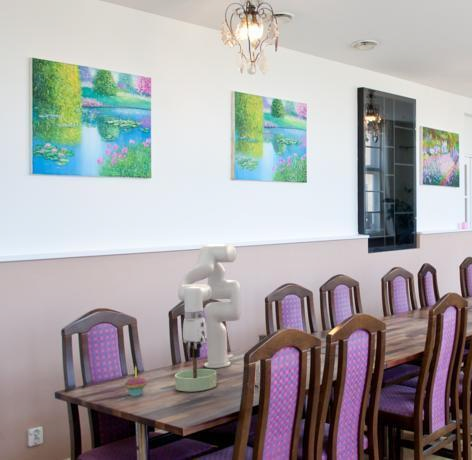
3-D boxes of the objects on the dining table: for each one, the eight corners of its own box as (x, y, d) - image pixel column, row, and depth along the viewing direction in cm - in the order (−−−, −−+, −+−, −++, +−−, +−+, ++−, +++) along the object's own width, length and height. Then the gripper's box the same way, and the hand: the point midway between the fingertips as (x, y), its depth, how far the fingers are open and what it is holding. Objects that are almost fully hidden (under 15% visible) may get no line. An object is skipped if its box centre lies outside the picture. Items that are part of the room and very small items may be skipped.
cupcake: (125, 393, 271) (124, 365, 271) (146, 390, 275) (146, 362, 274) (125, 398, 263) (124, 369, 263) (147, 395, 267) (147, 367, 266)
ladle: (195, 383, 282) (194, 343, 282) (203, 384, 280) (202, 344, 280) (186, 386, 278) (185, 345, 277) (195, 387, 276) (194, 346, 275)
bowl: (195, 380, 291) (195, 367, 291) (224, 384, 283) (224, 371, 283) (166, 390, 275) (166, 376, 275) (196, 394, 268) (196, 380, 267)
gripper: (213, 314, 278) (214, 357, 278) (186, 312, 285) (187, 354, 286) (201, 317, 271) (202, 360, 272) (173, 315, 278) (174, 357, 279)
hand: (194, 357), depth 279 cm, fingers closed on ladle
